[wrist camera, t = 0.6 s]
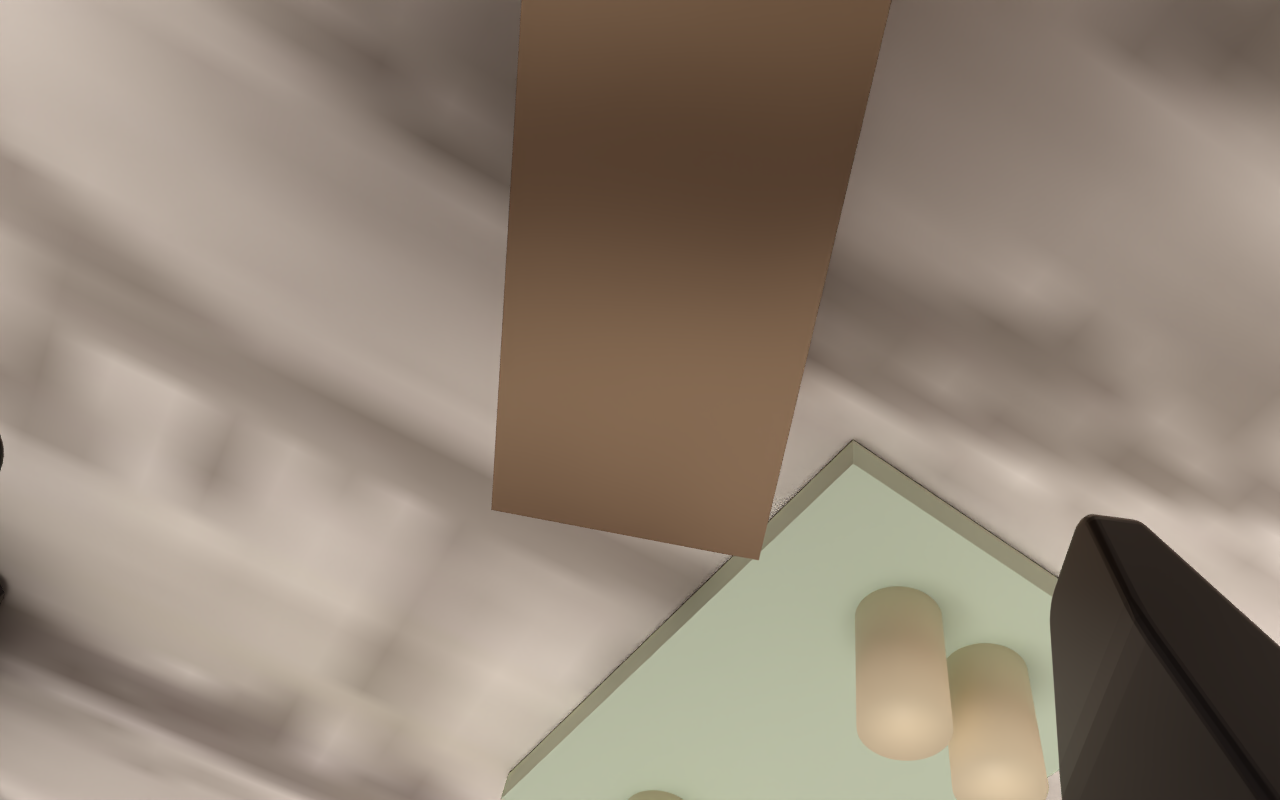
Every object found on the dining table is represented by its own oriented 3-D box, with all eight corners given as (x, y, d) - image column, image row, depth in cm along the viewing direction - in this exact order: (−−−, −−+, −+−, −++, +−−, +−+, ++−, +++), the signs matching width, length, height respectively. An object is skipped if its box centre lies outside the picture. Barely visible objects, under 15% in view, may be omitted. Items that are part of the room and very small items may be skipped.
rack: (779, 924, 32) (772, 1063, 29) (508, 774, 30) (469, 904, 27) (1178, 659, 25) (1227, 806, 22) (852, 439, 23) (854, 565, 20)
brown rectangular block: (773, 396, 23) (758, 560, 19) (554, 356, 23) (491, 510, 19) (929, -301, 16) (959, -286, 12) (617, -347, 16) (541, -346, 12)
